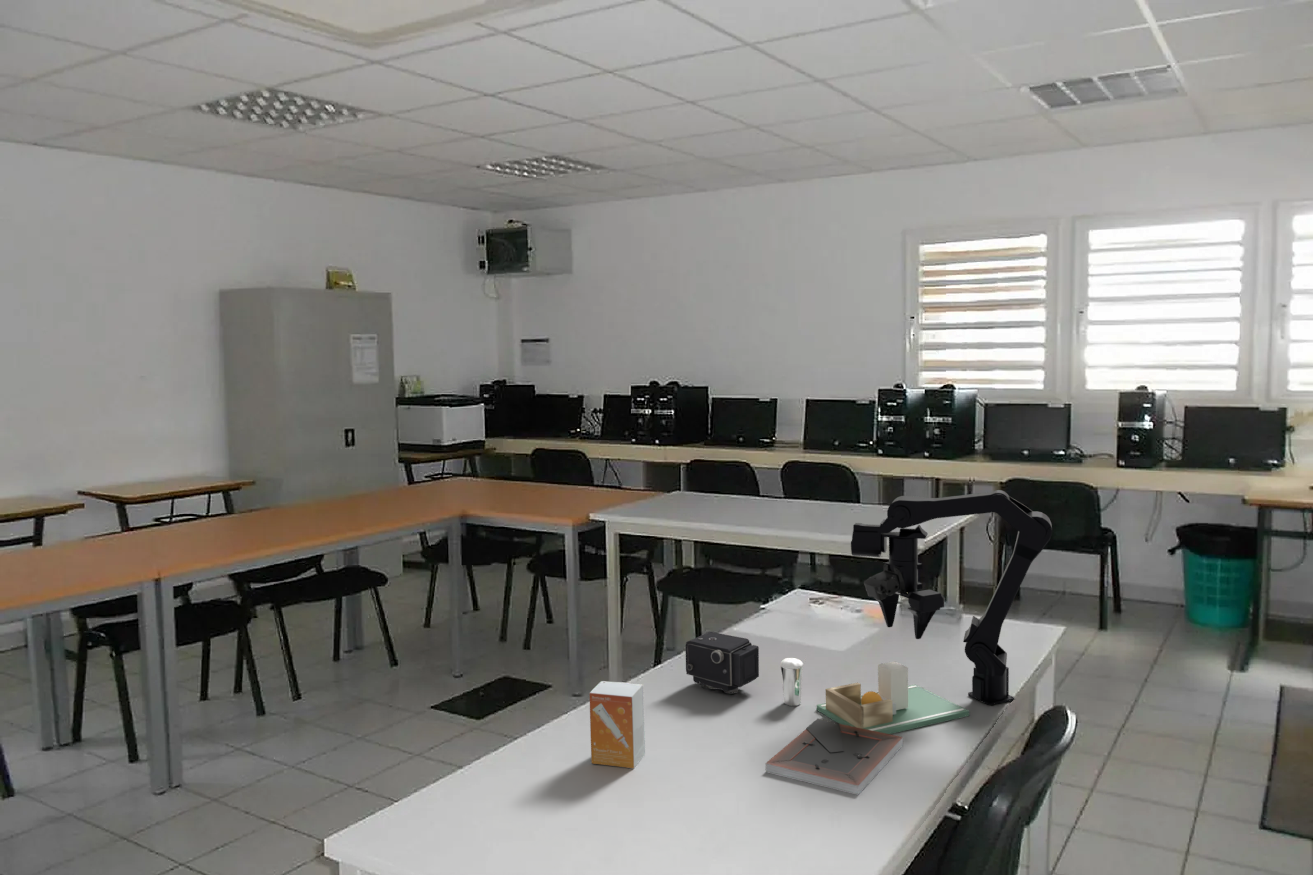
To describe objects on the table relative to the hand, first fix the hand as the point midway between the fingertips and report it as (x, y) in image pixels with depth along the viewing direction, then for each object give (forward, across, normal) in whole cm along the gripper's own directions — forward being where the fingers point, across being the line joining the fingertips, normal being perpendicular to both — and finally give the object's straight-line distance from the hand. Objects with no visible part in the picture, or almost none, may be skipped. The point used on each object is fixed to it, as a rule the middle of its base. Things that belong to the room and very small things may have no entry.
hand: (903, 632), depth 195 cm
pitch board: (+12, +9, -10) cm, 18 cm away
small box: (+12, +4, -65) cm, 66 cm away
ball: (+9, +9, -15) cm, 19 cm away
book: (+13, +21, -31) cm, 40 cm away
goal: (+11, +9, -18) cm, 23 cm away
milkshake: (+12, -4, -24) cm, 27 cm away
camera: (+12, -18, -33) cm, 39 cm away
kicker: (+11, +9, -10) cm, 17 cm away
